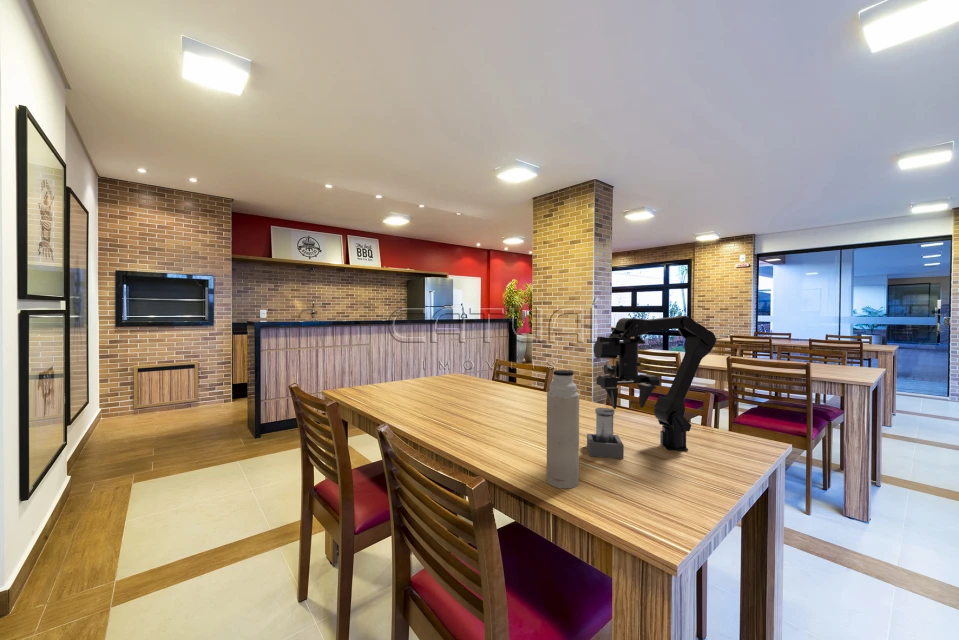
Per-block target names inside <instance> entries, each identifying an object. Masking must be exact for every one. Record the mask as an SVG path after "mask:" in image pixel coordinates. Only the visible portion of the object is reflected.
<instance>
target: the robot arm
mask: <svg viewBox="0 0 959 640" xmlns="http://www.w3.org/2000/svg"><path fill="white" fill-rule="evenodd" d="M676 329H677V330H678V332H679V335H680V336H681V337H682V338H684V343H683V345H684V347H683V348H684V355H683V358H682V360H681V363H680V365H679V366H678V369H677V372H676V374H675V376H674V379H673V380H672V383H671V385H670V388H669V389H668V390H669V391H668V392H667V394H665V395H664V396H661V395H659V396H658V397H657V400H656V403H655V404H654V405H653V408H654V410H653V414H654V416H655V418H656V419H657V421H658V424H659V425H660V426H661V428H662V429H661V430H660V434H659V435H660V437H659V438H660V442H659V443H660V444H661V445H662V447H664V449H665V450H667V451H668V450H669V451H671V450H672V451H689V448H688V447H687V432H690V430H691V428H692V424H691V422H689V420H688V419H687V418H686V417H685V413H686V406H685V403H686V402H685V400H686V397H687V395H688V392H689V389H690V388H691V386H692V384H693V380H694V379H695V376H696V373H697V371H698V369H699V366H700V364H701V362H702V359H704V358H705V357H707V355H708V354H710V353H711V352H712V350H713V349H714V347H715V345H716V343H717V337H716V334H715V333H714V332H713V331H711V330H709V329H708V328H706V327H705V326H703V325H702V324H700V323H699V322H697V321H695V320H694V319H693V318H691V316H689V315H676V316H671V317H670V316H669V317H660V318H649V319H646V318H645V319H644V318H636V317H634V318H632V317H630V318H629V317H623V318H620V319H618V321H617V322H616V324H615V327H614V329H613V330H612V331H611V333H610V334H609V336H608V337H607V336H596V341H595V342H594V346H593V353H594V357H595V359H597V360H598V359H599V360H600V359H601V360H602V359H618V360H615V361H616V362H615V365H612V364H611V363H606V364H605V363H604V364H603V374H604V375H598V376H597V378H596V383H595V384H596V385H597V386H600V388H603V389H604V390H605V392H606V394H607V396H608V397H609V398H608V399H609V401H610V403H611V406H612V409H613V410H616V409H617V406H618V397H619V396H618V395H619V394H618V393H619V388H618V387H617V386H618V385H622V384H623V385H624V384H625V385H626V384H637V386H638V387H637V388H638V390H639V392H638V393H639V396H638V398H639V400H638V402H639V408H641V409H643V408H644V406H645V404H646V402H647V400H648V399H649V398H650V395H651V394H652V392H653V391H654V390H655V389H657V386H661V379H660V377H659V376H657V375H654V374H650V373H645V374H643V373H642V374H641V373H640V374H639V367H641V366H642V364H641V363H642V362H640V361H639V345H645V344H646V341H645V340H643V339H642V338H641V336H642V335H645V334H647V333H650V332H657V331H666V330H676Z"/></svg>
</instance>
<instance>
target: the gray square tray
mask: <svg viewBox="0 0 959 640" xmlns="http://www.w3.org/2000/svg"><path fill="white" fill-rule="evenodd" d="M624 446H625V445H624V444H623V442H622V439H621V437H619V435H618V434H613V443H601V442H596V433H586V447H587V451H588V453H589V454H588V455H589V456H590V457H591V458H592V457H593V458H609V459H622V460H623V459H624V458H625V457H624V453H625V452H624Z"/></svg>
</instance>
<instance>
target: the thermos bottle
mask: <svg viewBox="0 0 959 640" xmlns="http://www.w3.org/2000/svg"><path fill="white" fill-rule="evenodd" d="M573 376H574V371H572V370H566V369H565V370H564V369H559V370H557V369H556V370H553V378H552V381H551V382H550V383H549V387H548V388H549V390H548V391H547V393H546V482H547V483H548V485H550V486H552V487H555V488H558V489H559V488H560V489H573V488H576V487H578V485H579V484H580V453H579V450H580V393H579V392H577V390H578V386H577V384H576V383H574V377H573Z"/></svg>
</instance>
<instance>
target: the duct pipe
mask: <svg viewBox="0 0 959 640" xmlns="http://www.w3.org/2000/svg"><path fill="white" fill-rule="evenodd" d="M594 410H595V411H594V413H595V414H596V416H595V419H596V420H595V421H596V423H595V425H596V426H595V427H596V428H595V434H596V442H601V443H613V435H614V415H615V413H616V412H615V409H613V408H609V407H596V408H594Z"/></svg>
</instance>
